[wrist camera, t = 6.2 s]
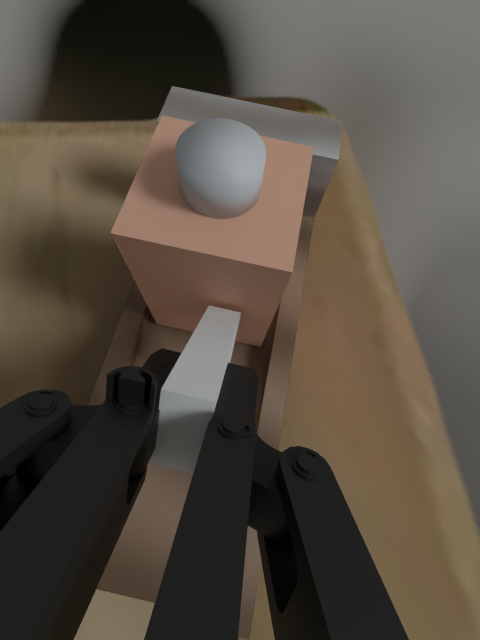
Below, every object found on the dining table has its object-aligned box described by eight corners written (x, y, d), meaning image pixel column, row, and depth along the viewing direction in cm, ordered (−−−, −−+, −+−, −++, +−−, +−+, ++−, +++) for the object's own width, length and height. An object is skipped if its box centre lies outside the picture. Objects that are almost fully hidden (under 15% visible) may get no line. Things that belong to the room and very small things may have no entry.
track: (244, 608, 16) (264, 734, 9) (50, 563, 16) (-77, 651, 9) (309, 210, 25) (343, 121, 18) (184, 184, 26) (172, 86, 19)
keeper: (260, 346, 19) (304, 245, 10) (156, 324, 20) (93, 200, 10) (276, 262, 22) (326, 108, 12) (183, 242, 22) (154, 73, 12)
